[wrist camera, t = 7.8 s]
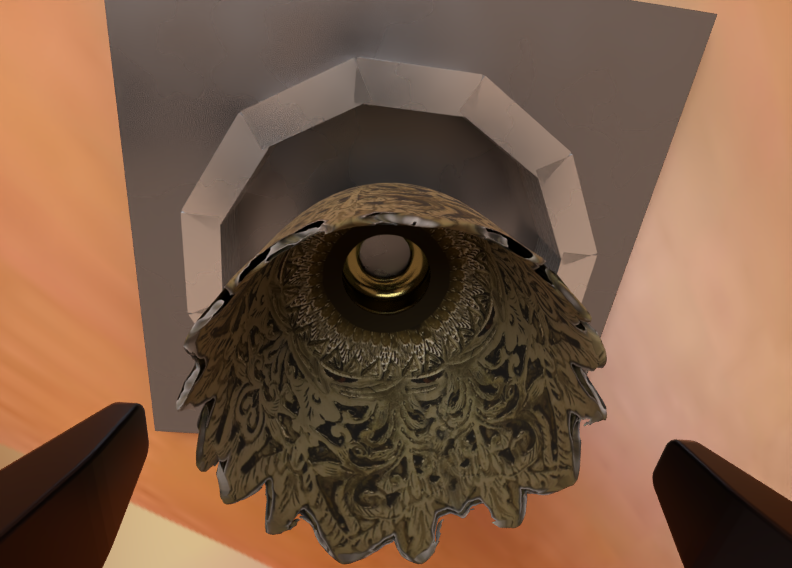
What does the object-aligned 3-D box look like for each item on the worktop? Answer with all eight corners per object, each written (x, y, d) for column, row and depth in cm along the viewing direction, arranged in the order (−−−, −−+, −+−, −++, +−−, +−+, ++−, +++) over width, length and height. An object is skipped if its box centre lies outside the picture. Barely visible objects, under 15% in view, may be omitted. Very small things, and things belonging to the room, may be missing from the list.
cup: (453, 92, 13) (551, 134, 6) (526, 303, 16) (648, 495, 9) (222, 197, 14) (73, 339, 7) (332, 377, 17) (305, 605, 10)
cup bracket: (163, 416, 19) (131, 472, 16) (110, -77, 12) (41, -113, 9) (551, 440, 20) (576, 494, 18) (699, 16, 14) (773, 7, 11)
